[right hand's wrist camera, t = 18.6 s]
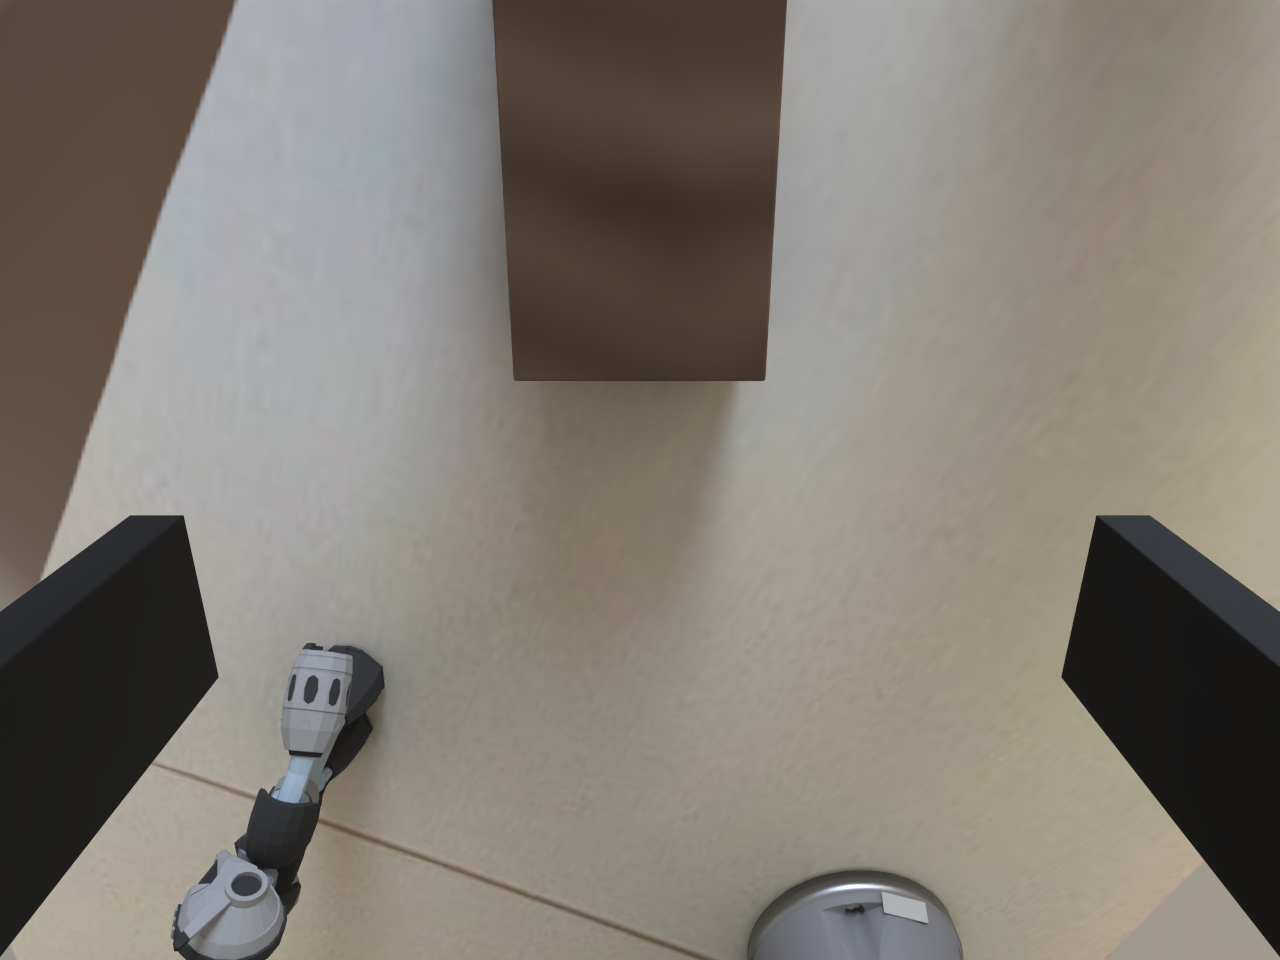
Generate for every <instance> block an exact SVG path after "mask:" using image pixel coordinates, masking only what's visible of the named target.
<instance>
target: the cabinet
mask: <svg viewBox="0 0 1280 960" xmlns="http://www.w3.org/2000/svg"><path fill="white" fill-rule="evenodd" d="M492 3H493V21H494V38H495V56H496V74H497V91H498V109H499V127H500V144H501V162H502V180H503V197H504V215H505V233H506V251H507V268H508V286H509V304H510V321H511V339H512V357H513V374H514V380H515V381H764V380H765V375H766V358H767V340H768V323H769V305H770V288H771V270H772V253H773V235H774V218H775V201H776V183H777V166H778V148H779V131H780V113H781V96H782V78H783V61H784V43H785V26H786V8H787V0H492Z"/></svg>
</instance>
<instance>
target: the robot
mask: <svg viewBox="0 0 1280 960" xmlns="http://www.w3.org/2000/svg"><path fill="white" fill-rule="evenodd" d="M315 645H316V644H315V643H307V644H306V645H305V646H304V648H303V649H302V650H301V652H300V654H299V656H298V658H297V660H296V661H295V663H294V665H293V668H292V671H291V674H290V676H289V680H288V685H287V689H286V693H285V698H284V703H283V713H282V718H281V731H282V737H283V742H284V748H285V749H288V750H289V754H290V755H292V756H291V761H290V765H289V769H288V772H287V774H286V775H285V776H284V777H282V778H281V779H280V780H279V781H278V783H277V785H276V787H275V786H273V788H272V789H271V791H270V793H269V794H268V793H267V791H266V790H265V789H262V788H261V789H260V790H259V792H258V795H257V798H256V801H255V804H254V807H253V810H252V813H251V817H250V820H249V824H248V828H247V832H246V833H245V834H244V835H243V836H242V837H241V838H239V839H238V840H237V841H236V842H235V843H234V844H235V848H236V853H237V857H236V856H234V855H232V854H231V853H230V852H229V851H228V850H226V849H225V850H223V851H221V852H220V853H218V854H217V855H216V858H215V861H214V865H213V866H212V867H211V868H210V870H209V871H208V872H207V873H206V875H205V876H204V877H203V878H202V879H201V881H200V882H199V883H198V884H195V885H194V886H193V887H192V888H191V889H189V890H188V892H187V895H186V897H185V899H184V902H183V904H178V908H176V909H175V915H174V921H173V926H172V932H171V938H173V939H174V942H173V946H174V951H178V952H179V953H180V954H181V955H182V956H183V957H184V958H185V959H186V960H266V959H267V958H268V957H269V956H270V955H271V954H272V953H273V951H274V950H275V949H276V948H277V947H278V945H279V944H280V941H281V938H282V935H283V932H284V930H285V926H286V922H287V915H288V914H289V912H290V911H291V910H292V909H293V907H294V906H295V905H296V903H297V902H298V899H299V894H300V889H301V884H300V882H299V879H298V876H297V872H298V870H299V867H300V865H301V862H302V859H303V856H304V853H305V850H306V847H307V845H308V844H309V843H310V841H311V838H312V836H313V833H314V830H315V828H316V825H317V822H318V818H319V813H320V807H321V804H322V796H323V793H324V791H325V788H326V786H327V785H328V783H329V781H331V780H332V779H333V778H335V777H336V776H337V775H339V774H340V773H341V772H342V771H343V770H344V769H345V768H346V767H347V766H348V765H349V764H350V763H351V761H352V760H353V759H354V758H355V756H356V755H357V754H358V752H359V751H360V750H361V748H362V747H363V745H364V744H365V742H366V740H367V738H368V736H369V734H370V733H371V732H372V730H373V728H372V726H371V724H370V722H369V720H368V718H367V715H366V713H365V712H366V711H367V710H368V709H369V708H370V707H371V706H372V705H373V704H374V703H375V701H376V700H377V698H378V696H379V694H380V693H381V691H382V689H383V688H384V687H385V685H384V675H383V667H382V666H381V665H380V664H378V663H377V662H376V661H375V660H373V659H372V658H371V657H370V656H368V655H367V654H366V653H365V652H363V651H362V650H359V649H356V648H354V647H351V646H334V647H332V648H331V649H329V650H328V651H322V650H323V647H320V646H315Z"/></svg>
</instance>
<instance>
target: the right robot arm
mask: <svg viewBox="0 0 1280 960" xmlns="http://www.w3.org/2000/svg"><path fill="white" fill-rule="evenodd" d="M218 677H219V676H218V672H217V667H216V663H215V658H214V653H213V649H212V644H211V640H210V635H209V630H208V626H207V621H206V617H205V612H204V607H203V603H202V598H201V594H200V589H199V584H198V580H197V575H196V571H195V566H194V561H193V557H192V552H191V548H190V543H189V538H188V534H187V529H186V525H185V520H184V516H129V517H128V518H126V519H125V520H123V521H122V522H121V523H119V524H118V525H117V526H115V527H114V528H113V529H111V530H110V531H109V532H107V533H106V534H105V535H103V536H102V537H101V538H99V539H98V540H97V541H95V542H94V543H92V544H91V545H90V546H88V547H87V548H86V549H84V550H83V551H82V552H80V553H79V554H78V555H76V556H75V557H74V558H72V559H71V560H70V561H68V562H67V563H66V564H64V565H63V566H61V567H60V568H59V569H57V570H56V571H55V572H53V573H52V574H51V575H49V576H48V577H47V578H45V579H44V580H43V581H41V582H40V583H39V584H37V585H36V586H34V587H33V588H32V589H30V590H29V591H28V592H26V593H25V594H24V595H22V596H21V597H20V598H18V599H17V600H16V601H14V602H13V603H12V604H10V605H9V606H8V607H6V608H5V609H4V610H2V611H1V612H0V956H1V955H2V954H3V953H4V951H5V950H6V949H7V948H8V946H9V945H10V944H11V942H12V941H13V940H14V939H15V937H16V936H17V935H18V933H19V932H20V931H21V930H22V928H23V927H24V926H25V924H26V923H27V922H28V921H29V919H30V918H31V917H32V915H33V914H34V913H35V912H36V910H37V909H38V908H39V907H40V905H41V904H42V903H43V901H44V900H45V899H46V898H47V896H48V895H49V894H50V892H51V891H52V890H53V889H54V887H55V886H56V885H57V883H58V882H59V881H60V880H61V878H62V877H63V876H64V875H65V873H66V872H67V871H68V869H69V868H70V867H71V866H72V864H73V863H74V862H75V860H76V859H77V858H78V857H79V855H80V854H81V853H82V851H83V850H84V849H85V848H86V846H87V845H88V844H89V842H90V841H91V840H92V839H93V837H94V836H95V835H96V834H97V832H98V831H99V830H100V828H101V827H102V826H103V825H104V823H105V822H106V821H107V819H108V818H109V817H110V816H111V814H112V813H113V812H114V810H115V809H116V808H117V807H118V805H119V804H120V803H121V802H122V800H123V799H124V798H125V796H126V795H127V794H128V793H129V791H130V790H131V789H132V787H133V786H134V785H135V784H136V782H137V781H138V780H139V778H140V777H141V776H142V775H143V773H144V772H145V771H146V769H147V768H148V767H149V766H150V764H151V763H152V762H153V761H154V759H155V758H156V757H157V755H158V754H159V753H160V752H161V750H162V749H163V748H164V746H165V745H166V744H167V743H168V741H169V740H170V739H171V737H172V736H173V735H174V734H175V732H176V731H177V730H178V729H179V727H180V726H181V725H182V723H183V722H184V721H185V720H186V718H187V717H188V716H189V714H190V713H191V712H192V711H193V709H194V708H195V707H196V705H197V704H198V703H199V702H200V700H201V699H202V698H203V697H204V695H205V694H206V693H207V691H208V690H209V689H210V688H211V686H212V685H213V684H214V682H215V681H216V680H217V679H218ZM1061 677H1062V679H1063V680H1064V681H1065V682H1066V684H1067V685H1068V686H1069V688H1070V689H1071V690H1072V691H1073V693H1074V694H1075V695H1076V697H1077V698H1078V699H1079V700H1080V702H1081V703H1082V704H1083V705H1084V707H1085V708H1086V709H1087V711H1088V712H1089V713H1090V714H1091V716H1092V717H1093V718H1094V720H1095V721H1096V722H1097V723H1098V725H1099V726H1100V727H1101V729H1102V730H1103V731H1104V732H1105V734H1106V735H1107V736H1108V737H1109V739H1110V740H1111V741H1112V743H1113V744H1114V745H1115V746H1116V748H1117V749H1118V750H1119V752H1120V753H1121V754H1122V755H1123V757H1124V758H1125V759H1126V761H1127V762H1128V763H1129V764H1130V766H1131V767H1132V768H1133V769H1134V771H1135V772H1136V773H1137V775H1138V776H1139V777H1140V778H1141V780H1142V781H1143V782H1144V784H1145V785H1146V786H1147V787H1148V789H1149V790H1150V791H1151V793H1152V794H1153V795H1154V796H1155V798H1156V799H1157V800H1158V802H1159V803H1160V804H1161V805H1162V807H1163V808H1164V809H1165V810H1166V812H1167V813H1168V814H1169V816H1170V817H1171V818H1172V819H1173V821H1174V822H1175V823H1176V825H1177V826H1178V827H1179V828H1180V830H1181V831H1182V832H1183V834H1184V835H1185V836H1186V837H1187V839H1188V840H1189V841H1190V842H1191V844H1192V845H1193V846H1194V848H1195V849H1196V850H1197V851H1198V853H1199V854H1200V855H1201V857H1202V858H1203V859H1204V860H1205V862H1206V863H1207V864H1208V866H1209V867H1210V868H1211V869H1212V871H1213V872H1214V873H1215V875H1216V876H1217V877H1218V878H1219V880H1220V881H1221V882H1222V883H1223V885H1224V886H1225V887H1226V889H1227V890H1228V891H1229V892H1230V894H1231V895H1232V896H1233V898H1234V899H1235V900H1236V901H1237V903H1238V904H1239V905H1240V907H1241V908H1242V909H1243V910H1244V911H1245V913H1246V914H1247V915H1248V917H1249V918H1250V919H1251V921H1252V922H1253V923H1254V924H1255V926H1256V927H1257V928H1258V930H1259V931H1260V932H1261V933H1262V935H1263V936H1264V937H1265V939H1266V940H1267V941H1268V942H1269V944H1270V945H1271V946H1272V947H1273V949H1274V950H1275V951H1276V953H1277V954H1278V955H1279V956H1280V612H1279V611H1278V610H1277V609H1275V608H1274V607H1272V606H1271V605H1270V604H1268V603H1267V602H1266V601H1264V600H1263V599H1262V598H1260V597H1259V596H1258V595H1256V594H1255V593H1254V592H1252V591H1251V590H1250V589H1248V588H1247V587H1246V586H1244V585H1243V584H1241V583H1240V582H1239V581H1237V580H1236V579H1235V578H1233V577H1232V576H1231V575H1229V574H1228V573H1227V572H1225V571H1224V570H1223V569H1221V568H1220V567H1219V566H1217V565H1216V564H1214V563H1213V562H1212V561H1210V560H1209V559H1208V558H1206V557H1205V556H1204V555H1202V554H1201V553H1200V552H1198V551H1197V550H1196V549H1194V548H1193V547H1192V546H1190V545H1189V544H1188V543H1186V542H1185V541H1183V540H1182V539H1181V538H1179V537H1178V536H1177V535H1175V534H1174V533H1173V532H1171V531H1170V530H1169V529H1167V528H1166V527H1165V526H1163V525H1162V524H1161V523H1159V522H1158V521H1157V520H1155V519H1154V518H1152V517H1151V516H1096V520H1095V525H1094V529H1093V534H1092V538H1091V543H1090V548H1089V552H1088V557H1087V561H1086V566H1085V571H1084V575H1083V580H1082V584H1081V589H1080V594H1079V598H1078V603H1077V607H1076V612H1075V617H1074V621H1073V626H1072V630H1071V635H1070V640H1069V644H1068V649H1067V653H1066V658H1065V663H1064V667H1063V672H1062V676H1061ZM748 955H749V960H963V950H962V945H961V942H960V939H959V937H958V934H957V932H956V929H955V927H954V924H953V922H952V919H951V916H950V914H949V913H948V911H947V909H946V908H945V906H944V905H943V903H942V902H941V901H940V900H939V899H938V898H937V897H936V896H935V895H934V894H933V893H931V892H930V891H929V890H927V889H926V888H925V887H923V886H921V885H919V884H918V883H916V882H914V881H911V880H909V879H907V878H904V877H901V876H898V875H894V874H890V873H884V872H878V871H845V872H838V873H832V874H828V875H824V876H820V877H817V878H814V879H811V880H809V881H806V882H804V883H802V884H799V885H797V886H795V887H794V888H792V889H790V890H788V891H787V892H785V893H784V894H783V895H781V896H780V897H778V898H777V899H776V900H775V901H774V902H772V903H771V904H770V905H769V906H768V907H767V909H766V910H765V911H764V912H763V913H762V915H761V916H760V918H759V919H758V921H757V922H756V924H755V926H754V928H753V931H752V933H751V936H750V941H749V948H748Z"/></svg>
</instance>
